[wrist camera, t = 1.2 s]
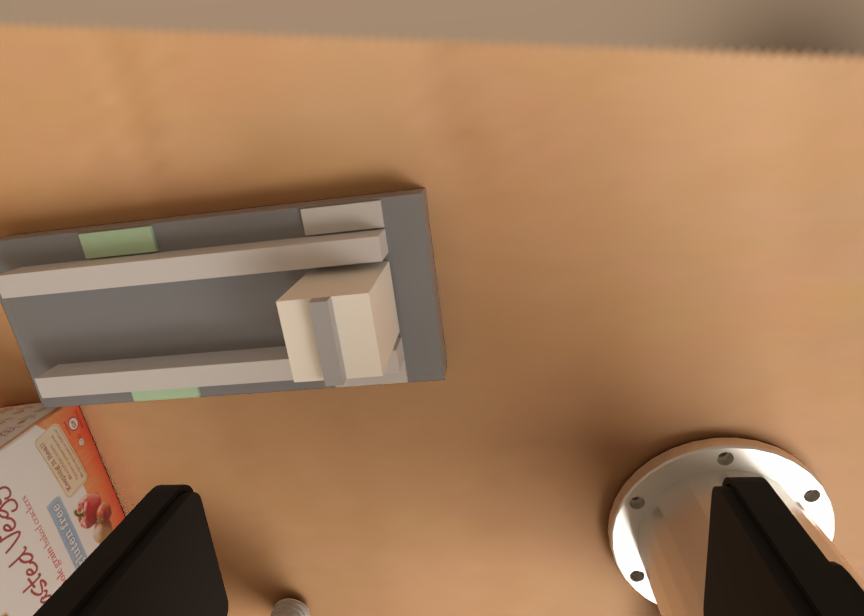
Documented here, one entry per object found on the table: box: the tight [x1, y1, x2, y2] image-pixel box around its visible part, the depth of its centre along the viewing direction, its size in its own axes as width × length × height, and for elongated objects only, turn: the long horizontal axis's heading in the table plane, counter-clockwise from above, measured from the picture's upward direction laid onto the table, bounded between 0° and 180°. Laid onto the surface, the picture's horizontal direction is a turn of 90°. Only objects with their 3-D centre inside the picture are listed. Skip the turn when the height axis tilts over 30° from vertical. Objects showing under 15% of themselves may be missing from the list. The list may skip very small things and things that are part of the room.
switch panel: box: [0, 188, 447, 408], centre depth 30 cm, size 10×24×4 cm, turn 97°
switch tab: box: [276, 261, 400, 386], centre depth 26 cm, size 4×4×6 cm
